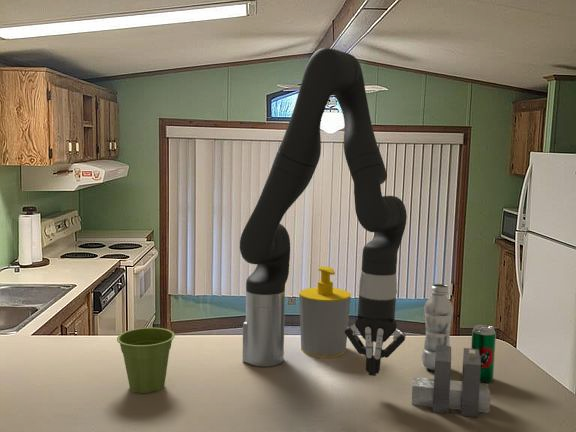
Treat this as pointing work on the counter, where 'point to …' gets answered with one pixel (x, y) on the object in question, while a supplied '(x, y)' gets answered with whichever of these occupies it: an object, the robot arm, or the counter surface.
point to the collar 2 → (471, 382)
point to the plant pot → (146, 357)
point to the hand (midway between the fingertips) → (372, 374)
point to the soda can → (485, 349)
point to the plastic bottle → (436, 323)
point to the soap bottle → (324, 317)
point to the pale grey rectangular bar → (425, 392)
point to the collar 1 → (442, 379)
